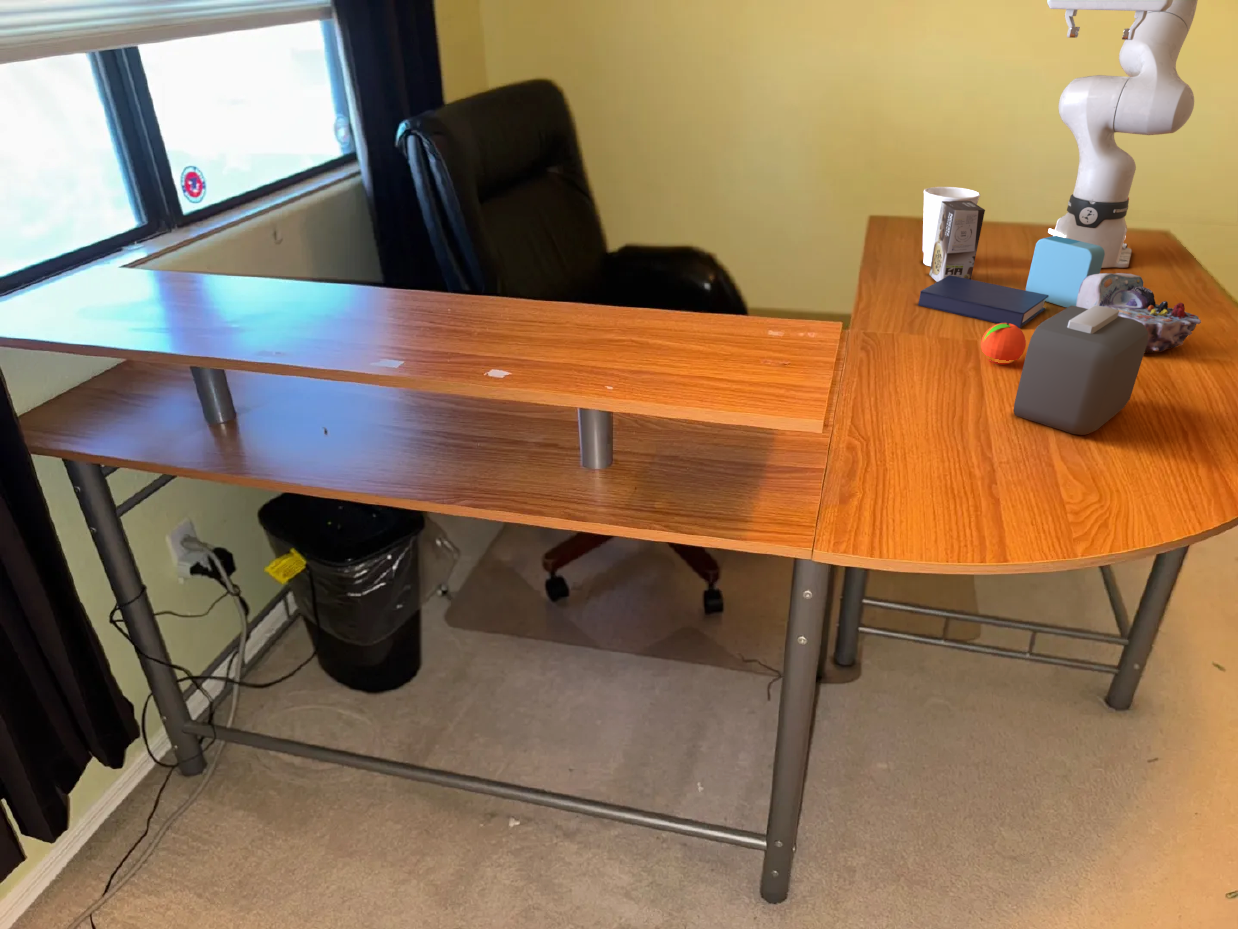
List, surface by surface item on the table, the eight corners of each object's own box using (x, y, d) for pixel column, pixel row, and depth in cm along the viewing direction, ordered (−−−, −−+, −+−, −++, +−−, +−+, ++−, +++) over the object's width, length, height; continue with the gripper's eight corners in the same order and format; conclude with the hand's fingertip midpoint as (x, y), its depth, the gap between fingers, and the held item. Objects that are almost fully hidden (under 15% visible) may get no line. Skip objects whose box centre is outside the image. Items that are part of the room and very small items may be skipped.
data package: (1091, 307, 175) (1107, 247, 169) (1077, 311, 173) (1093, 250, 167) (1036, 291, 183) (1050, 233, 178) (1023, 295, 181) (1037, 236, 175)
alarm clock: (1055, 388, 140) (1080, 294, 132) (1131, 411, 133) (1162, 312, 125) (1010, 420, 130) (1034, 319, 122) (1089, 446, 123) (1120, 341, 115)
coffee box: (971, 287, 186) (986, 209, 178) (940, 287, 186) (954, 209, 178) (957, 274, 194) (971, 199, 186) (928, 274, 194) (941, 199, 186)
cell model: (1121, 261, 164) (1221, 294, 148) (1104, 316, 170) (1199, 354, 154) (1069, 268, 160) (1168, 304, 144) (1054, 325, 165) (1147, 365, 149)
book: (946, 289, 185) (949, 275, 183) (1045, 309, 173) (1048, 295, 172) (918, 305, 176) (920, 290, 174) (1019, 328, 164) (1023, 313, 163)
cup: (908, 255, 207) (919, 185, 199) (960, 257, 206) (974, 187, 198) (916, 270, 197) (928, 196, 189) (971, 272, 195) (986, 198, 188)
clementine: (992, 374, 145) (1001, 333, 142) (963, 359, 151) (971, 319, 147) (1030, 367, 148) (1039, 327, 144) (1000, 353, 153) (1008, 313, 150)
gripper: (1191, -50, 150) (1166, 40, 157) (1065, -49, 162) (1047, 35, 168) (1182, -51, 146) (1157, 41, 153) (1054, -49, 158) (1036, 36, 164)
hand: (1099, 38), depth 161 cm, fingers open, 8 cm apart
